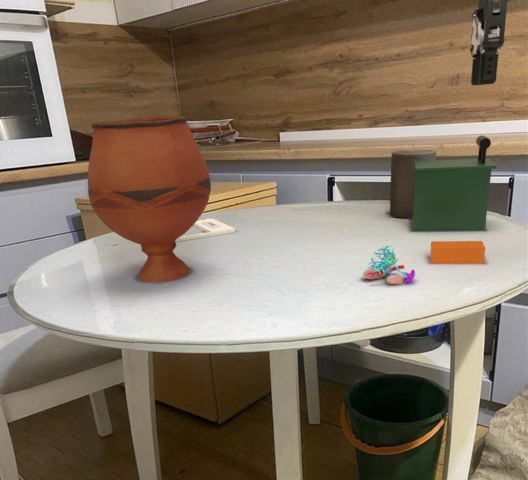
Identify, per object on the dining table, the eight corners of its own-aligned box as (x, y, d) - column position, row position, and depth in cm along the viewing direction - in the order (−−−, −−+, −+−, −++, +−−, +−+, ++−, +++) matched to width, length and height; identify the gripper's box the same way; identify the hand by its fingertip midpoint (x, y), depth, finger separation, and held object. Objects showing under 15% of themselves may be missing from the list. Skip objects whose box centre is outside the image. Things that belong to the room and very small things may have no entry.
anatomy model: (386, 263, 74) (421, 248, 77) (348, 253, 80) (381, 239, 83) (388, 297, 76) (422, 281, 79) (352, 285, 83) (384, 270, 85)
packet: (429, 258, 90) (431, 241, 89) (480, 258, 88) (482, 240, 87) (430, 265, 87) (432, 247, 86) (483, 265, 85) (485, 247, 84)
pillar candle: (382, 217, 123) (383, 147, 116) (400, 209, 130) (402, 143, 123) (422, 220, 117) (427, 147, 111) (439, 211, 124) (444, 142, 118)
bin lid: (488, 161, 108) (490, 133, 106) (496, 168, 98) (499, 138, 96) (414, 164, 112) (416, 137, 110) (415, 171, 102) (416, 142, 100)
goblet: (93, 299, 83) (56, 125, 72) (121, 264, 100) (94, 120, 89) (216, 290, 83) (197, 115, 72) (222, 257, 100) (207, 112, 89)
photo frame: (235, 227, 117) (155, 240, 110) (235, 232, 118) (156, 246, 111) (211, 217, 129) (138, 229, 123) (212, 222, 130) (139, 233, 123)
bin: (477, 219, 114) (483, 161, 109) (484, 232, 104) (491, 169, 99) (411, 220, 117) (414, 164, 112) (412, 233, 107) (415, 172, 102)
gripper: (536, -66, 65) (519, 82, 72) (513, -41, 78) (501, 83, 85) (471, -57, 67) (461, 86, 74) (459, -34, 79) (451, 87, 86)
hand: (482, 84), depth 79 cm, fingers open, 8 cm apart
